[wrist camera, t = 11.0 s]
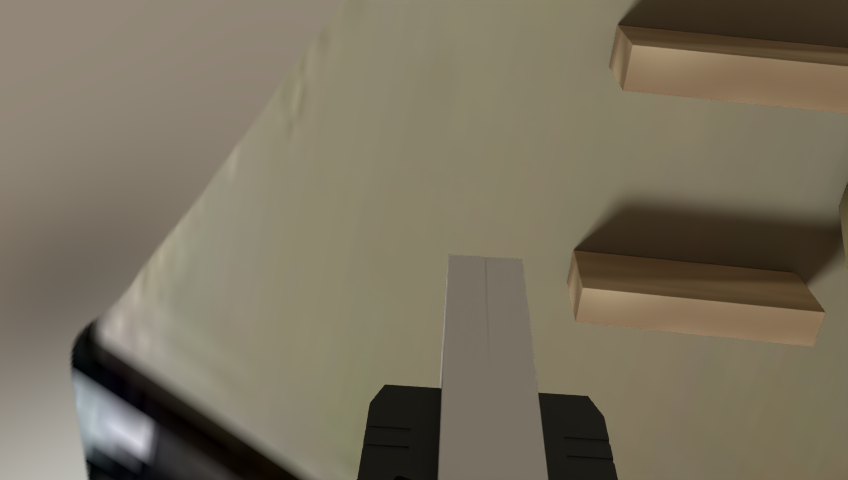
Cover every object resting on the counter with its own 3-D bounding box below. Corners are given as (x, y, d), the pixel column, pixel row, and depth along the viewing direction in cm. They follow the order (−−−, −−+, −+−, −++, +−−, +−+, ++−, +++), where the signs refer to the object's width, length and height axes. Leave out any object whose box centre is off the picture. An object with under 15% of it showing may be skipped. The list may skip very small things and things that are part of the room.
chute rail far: (573, 250, 43) (582, 287, 40) (796, 273, 43) (825, 312, 40) (567, 282, 44) (575, 321, 41) (785, 304, 44) (813, 346, 41)
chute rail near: (617, 24, 38) (632, 45, 34) (872, 50, 38) (914, 73, 34) (609, 66, 39) (623, 90, 35) (858, 91, 39) (897, 118, 35)
